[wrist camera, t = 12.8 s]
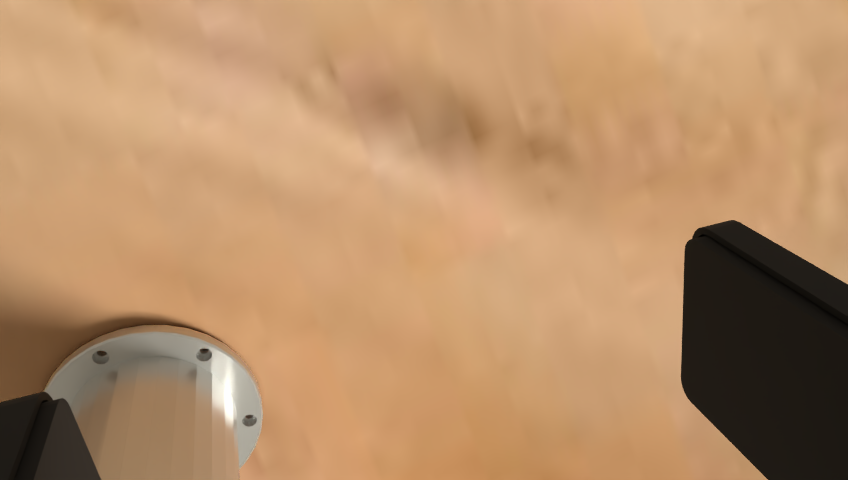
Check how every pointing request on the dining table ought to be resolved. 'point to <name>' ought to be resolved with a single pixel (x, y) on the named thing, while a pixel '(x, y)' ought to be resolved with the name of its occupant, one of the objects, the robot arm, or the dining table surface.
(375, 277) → the dining table surface
